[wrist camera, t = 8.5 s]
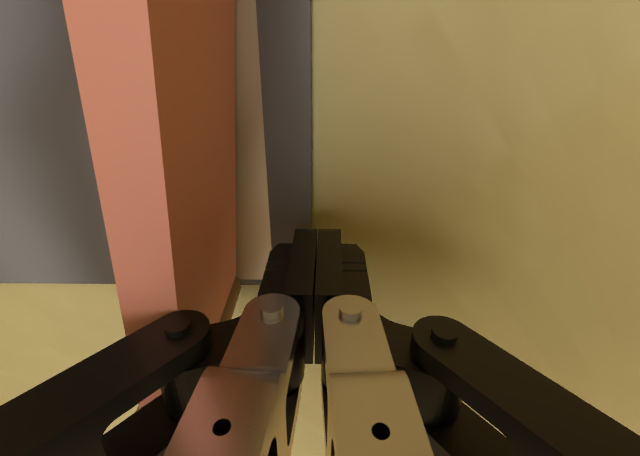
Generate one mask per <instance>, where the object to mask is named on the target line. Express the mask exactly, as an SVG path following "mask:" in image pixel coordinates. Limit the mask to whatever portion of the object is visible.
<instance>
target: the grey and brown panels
mask: <svg viewBox="0 0 640 456" xmlns="http://www.w3.org/2000/svg"><path fill="white" fill-rule="evenodd" d="M235 184H236V276H237V277H238V278H239V280H240V283H241V285H261V282H262V278H263V275H264V271H265V267H266V264H267V260H268V257H269V253H270V251H271V250H272V249H273V248H274V247H275V246H276V245H277V244H278V243H293V238H294V232H295V229H312V188H311V0H235ZM0 283H66V284H116V282H115V276H114V271H113V266H112V261H111V255H110V250H109V245H108V240H107V234H106V229H105V224H104V218H103V213H102V208H101V203H100V197H99V192H98V187H97V182H96V176H95V171H94V166H93V160H92V155H91V150H90V145H89V139H88V134H87V129H86V124H85V118H84V113H83V108H82V102H81V97H80V92H79V87H78V81H77V76H76V71H75V66H74V60H73V55H72V50H71V44H70V39H69V34H68V29H67V23H66V18H65V13H64V8H63V2H62V0H0Z"/></svg>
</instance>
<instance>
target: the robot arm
mask: <svg viewBox="0 0 640 456" xmlns="http://www.w3.org/2000/svg"><path fill="white" fill-rule="evenodd" d="M314 331H315V364H322V366H321V395H322V410H323V425H324V440H325V455H326V456H640V436H639V435H637V434H636V433H634V432H633V431H631V430H630V429H628V428H626V427H625V426H623V425H622V424H620V423H618V422H617V421H615V420H614V419H612V418H611V417H609V416H607V415H606V414H604V413H603V412H601V411H600V410H598V409H596V408H595V407H593V406H592V405H590V404H588V403H587V402H585V401H584V400H582V399H581V398H579V397H577V396H576V395H574V394H573V393H571V392H569V391H568V390H566V389H565V388H563V387H562V386H560V385H558V384H557V383H555V382H554V381H552V380H551V379H549V378H547V377H546V376H544V375H543V374H541V373H539V372H538V371H536V370H535V369H533V368H532V367H530V366H528V365H527V364H525V363H524V362H522V361H520V360H519V359H517V358H516V357H514V356H513V355H511V354H509V353H508V352H506V351H505V350H503V349H502V348H500V347H498V346H497V345H495V344H494V343H492V342H490V341H489V340H487V339H486V338H484V337H483V336H481V335H479V334H478V333H476V332H475V331H473V330H472V329H470V328H468V327H467V326H465V325H464V324H462V323H460V322H458V321H456V320H454V319H452V318H448V317H444V316H427V317H423V318H421V319H419V320H418V321H417V322H416V323H415V324H414V326H413V327H409V326H405V325H401V324H398V323H394V322H392V321H390V320H388V319H386V318H384V317H383V316H381V315H380V314H379V311H378V309H377V307H376V306H375V305H374V304H373V303H372V297H371V291H370V285H369V279H368V273H367V267H366V261H365V255H364V252H363V251H362V250H361V249H360V248H359V247H358V246H357V245H356V244H341V231H340V229H319V230H318V248H317V229H295V232H294V238H293V243H278V244H277V245H276V246H275V247H274V248H273V249H272V250H271V251H270V253H269V257H268V260H267V264H266V267H265V271H264V275H263V278H262V282H261V285H260V289H259V292H258V296H257V297H256V298H254V299H253V300H251V301H250V302H249V303H248V304H247V305H246V307H245V308H244V310H243V313H242V315H241V316H239V317H237V318H235V319H231V320H228V321H223V322H218V323H213V324H210V322H209V319H208V318H207V316H206V315H205V314H203V313H201V312H199V311H195V310H179V311H175V312H171V313H169V314H166V315H164V316H162V317H160V318H159V319H157V320H155V321H153V322H151V323H150V324H148V325H146V326H144V327H142V328H141V329H139V330H137V331H135V332H133V333H132V334H130V335H128V336H126V337H124V338H122V339H121V340H119V341H117V342H115V343H113V344H112V345H110V346H108V347H106V348H104V349H103V350H101V351H99V352H97V353H95V354H94V355H92V356H90V357H88V358H86V359H84V360H83V361H81V362H79V363H77V364H75V365H74V366H72V367H70V368H68V369H66V370H65V371H63V372H61V373H59V374H57V375H56V376H54V377H52V378H50V379H48V380H46V381H45V382H43V383H41V384H39V385H37V386H36V387H34V388H32V389H30V390H28V391H27V392H25V393H23V394H21V395H19V396H18V397H16V398H14V399H12V400H10V401H9V402H7V403H5V404H3V405H1V406H0V456H291V450H292V444H293V438H294V433H295V427H296V421H297V415H298V409H299V403H300V397H301V391H302V380H303V377H304V368H305V364H313V350H314ZM158 389H161V393H162V394H161V395H159V396H158V397H156V398H155V399H154V400H152V401H151V402H149V403H148V404H147V405H145V406H144V407H142V408H141V409H140V410H138V411H137V412H135V413H134V414H132V415H131V416H130V417H128V418H127V419H125V420H124V421H123V422H121V423H120V424H118V425H117V426H115V427H114V428H113V429H111V430H110V431H108V432H107V433H105V434H104V435H103V433H104V431H105V430H106V428H107V427H108V426H109V425H110V424H111V423H112V422H113V421H114V420H115V419H117V418H118V417H119V416H121V415H122V414H124V413H125V412H127V411H128V410H130V409H131V408H132V407H134V406H135V405H137V404H138V403H140V402H141V401H142V400H144V399H145V398H147V397H148V396H150V395H151V394H153V393H154V392H155V391H157V390H158ZM462 400H463V401H464V402H465V403H466V404H467V405H469V406H470V407H471V408H472V409H474V410H475V411H476V412H477V413H479V414H480V415H481V416H482V417H484V418H485V419H486V420H487V421H489V422H490V423H491V424H492V425H494V426H495V427H496V428H497V429H499V430H500V431H501V432H502V433H503V434H504V435H505V436H506V437H505V436H504V435H502V434H501V433H500V432H499V431H497V430H496V429H495V428H494V427H492V426H491V425H490V424H489V423H487V422H486V421H485V420H484V419H482V418H481V417H480V416H479V415H478V414H476V413H475V412H474V411H473V410H471V409H470V408H469V407H468V406H466V405H465V404H464V403H463V402H462Z"/></svg>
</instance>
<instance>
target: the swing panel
mask: <svg viewBox="0 0 640 456" xmlns="http://www.w3.org/2000/svg"><path fill="white" fill-rule="evenodd" d="M62 2H63V8H64V13H65V18H66V23H67V29H68V34H69V39H70V44H71V50H72V55H73V60H74V66H75V71H76V76H77V81H78V87H79V92H80V97H81V102H82V108H83V113H84V118H85V124H86V129H87V134H88V139H89V145H90V150H91V155H92V160H93V166H94V171H95V176H96V182H97V187H98V192H99V197H100V203H101V208H102V213H103V218H104V224H105V229H106V234H107V240H108V245H109V250H110V255H111V261H112V266H113V271H114V276H115V282H116V287H117V292H118V297H119V303H120V308H121V313H122V319H123V324H124V329H125V334H126V336H128V335H130V334H132V333H133V332H135V331H137V330H139V329H141V328H142V327H144V326H146V325H148V324H150V323H151V322H153V321H155V320H157V319H159V318H160V317H162V316H164V315H166V314H169V313H171V312H175V311H179V310H195V311H199V312H201V313H203V314H205V315H206V316H207V318H208V319H209V322H210V324H213V323H218V322H223V321H228V320H231V318H232V315H233V312H234V309H235V305H236V302H237V299H238V296H239V293H240V289H241V283H240V280H239V278H238V277H237V276H236V184H235V0H62ZM161 394H162V393H161V389H158V390H157V391H155V392H154V393H153V394H151V395H150V396H148V397H147V398H145V399H144V400H142V401H141V402H140V403H139V406H138V408H137V410H136V412H137V411H138V410H140V409H141V408H142V407H144V406H145V405H147V404H148V403H149V402H151V401H152V400H154V399H155V398H156V397H158V396H159V395H161Z"/></svg>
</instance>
